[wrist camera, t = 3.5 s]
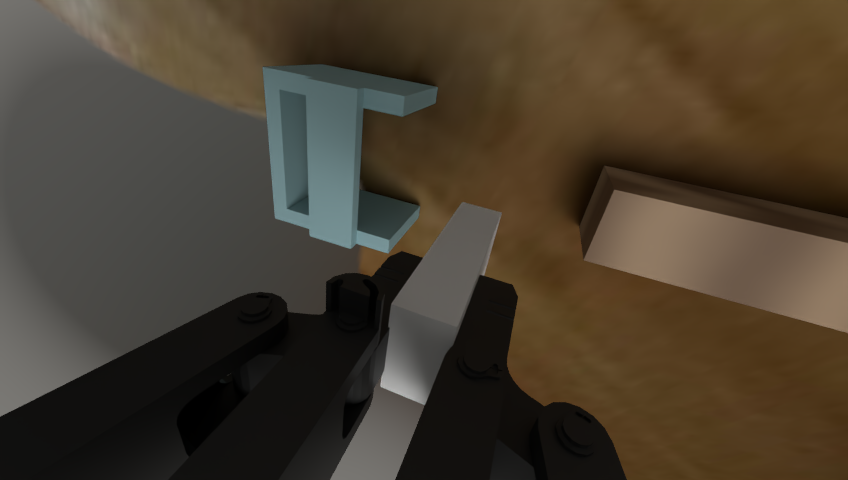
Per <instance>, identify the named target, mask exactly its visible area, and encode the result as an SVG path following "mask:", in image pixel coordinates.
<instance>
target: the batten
mask: <svg viewBox="0 0 848 480" xmlns="http://www.w3.org/2000/svg"><path fill="white" fill-rule="evenodd" d="M579 228H580V236H581V244H582V252H583V260H585V261H588V262H592V263H596V264H599V265H603V266H606V267H610V268H614V269H617V270H621V271H625V272H628V273H632V274H636V275H639V276H643V277H646V278H650V279H654V280H657V281H661V282H665V283H668V284H672V285H676V286H679V287H683V288H687V289H690V290H694V291H697V292H701V293H705V294H708V295H712V296H716V297H719V298H723V299H727V300H730V301H734V302H737V303H741V304H745V305H748V306H752V307H756V308H759V309H763V310H767V311H770V312H774V313H777V314H781V315H785V316H788V317H792V318H796V319H799V320H803V321H807V322H810V323H814V324H818V325H821V326H825V327H828V328H832V329H836V330H839V331H843V332H847V333H848V218H845V217H840V216H835V215H831V214H826V213H821V212H817V211H812V210H808V209H803V208H798V207H794V206H789V205H785V204H780V203H775V202H771V201H766V200H761V199H757V198H752V197H748V196H743V195H738V194H734V193H729V192H725V191H720V190H715V189H711V188H706V187H701V186H697V185H692V184H688V183H683V182H678V181H674V180H669V179H664V178H660V177H655V176H651V175H646V174H641V173H637V172H632V171H628V170H623V169H618V168H614V167H609V166H604V167H603V170H602V172H601V175H600V177H599V180H598V182H597V184H596V187H595V189H594V192H593V194H592V197H591V199H590V202H589V204H588V207H587V209H586V211H585V214H584V216H583V219H582V221H581V224H580V226H579Z"/></svg>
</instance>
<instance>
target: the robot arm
mask: <svg viewBox="0 0 848 480" xmlns="http://www.w3.org/2000/svg"><path fill="white" fill-rule="evenodd" d="M501 214H502V213H501V212H497V211H494V210H490V209H486V208H483V207H479V206H475V205H472V204H468V203H464V202H462V203H461V205H460V206H459V207H458V209H457V210H456V212H455V213H454V215H453V216H452V218H451V219H450V220H449V222H448V223H447V225H446V226H445V228H444V229H443V230H442V232H441V233H440V235H439V236H438V238H437V239H436V240H435V242H434V243H433V245H432V246H431V248H430V249H429V250H428V252H427V253H426V255H425V256H424V258H422V257H419V256H415V255H412V254H409V253H406V252H403V251H401V252H399V253H397V254H395V255H392V256H390V257H389V258H388V259H387V260H386V261H385V262H384V263H383V264H382V266H381V268H379V269H378V270H377V271H376V272H375V274H374V275H373V276H372V277H370V276H368V275H364V274H359V273H345V274H342V275H338V276H335V277H333V278H331V279H330V280H328V281H327V282H326V311H325V312H324V314H321V315H311V314H300V313H291V312H288V310H287V303H286V302H285V301H284V300H283V299H282V298H281V297H280V296H277V295H275V294H273V293H263V292H258V293H251V294H247V295H244V296H241V297H238V298H236V299H234V300H232V301H230V302H228V303H226V304H224V305H222V306H220V307H218V308H216V309H214V310H212V311H210V312H208V313H206V314H204V315H202V316H200V317H198V318H196V319H194V320H192V321H190V322H188V323H186V324H184V325H182V326H180V327H178V328H176V329H174V330H172V331H170V332H168V333H166V334H164V335H162V336H160V337H158V338H157V339H155V340H152V341H150V342H148V343H146V344H144V345H142V346H140V347H138V348H136V349H134V350H132V351H130V352H128V353H126V354H124V355H123V356H121V357H118V358H117V359H114V360H112V361H110V362H109V363H106V364H104V365H103V366H101V367H98V368H96V369H94V370H93V371H91V372H89V373H87V374H85V375H83V376H81V377H79V378H77V379H75V380H73V381H71V382H69V383H67V384H65V385H63V386H61V387H59V388H57V389H55V390H53V391H51V392H49V393H47V394H45V395H43V396H41V397H39V398H37V399H35V400H33V401H31V402H29V403H27V404H25V405H23V406H21V407H19V408H17V409H15V410H13V411H11V412H9V413H7V414H5V415H3V416H1V417H0V480H330V478H331V476H332V474H333V473H334V471H335V469H336V467H337V465H338V464H339V462H340V460H341V458H342V456H343V454H344V453H345V451H346V449H347V447H348V445H349V443H350V442H351V440H352V438H353V436H354V434H355V433H356V431H357V429H358V427H359V425H360V423H361V422H362V420H363V418H364V416H365V414H366V413H367V411H368V409H369V407H370V405H371V402H372V398H373V391H374V387H375V386H376V384H377V382H378V380H379V379H380V377H381V375H382V379H381V386H380V387H382V388H385V389H387V390H389V391H392V392H395V393H397V394H399V395H402V396H404V397H407V398H409V399H411V400H414V401H416V402H419V403H421V404H423V405H425V406H424V409H423V412H422V414H421V417H420V419H419V421H418V424H417V427H416V429H415V432H414V434H413V437H412V439H411V442H410V444H409V447H408V449H407V452H406V454H405V457H404V459H403V462H402V464H401V467H400V470H399V472H398V474H397V477H396V479H395V480H627V479H626V477H625V474H624V471H623V469H622V466H621V463H620V461H619V458H618V455H617V453H616V450H615V447H614V445H613V442H612V440H611V439H610V437H609V435H608V433H607V431H606V430H605V428H604V427H603V426H602V425H601V424H600V423H599V422H598V421H597V419H596V418H595V417H594V416H592V415H591V414H589V413H588V412H586V411H585V410H583V409H582V408H580V407H578V406H575V405H572V404H569V403H566V402H553V403H551V404H549V405H547V406H545V407H544V406H543V405H542V404H540V403H539V402H537V401H536V400H534V399H533V398H531V397H530V396H529V395H527V394H526V393H525V392H524V391H522V390H521V389H520V388H519V387H518V385H517V384H516V383H515V382H514V381H513V379H512V377H511V375H510V374H509V371H508V367H507V355H508V350H509V344H510V338H511V333H512V327H513V322H514V321H513V320H514V316H515V310H516V305H517V299H518V296H517V294H516V291H515V289H514V287H513V285H512V284H508V283H505V282H502V281H499V280H496V279H492V278H489V277H486V276H484V274H485V270H486V267H487V263H488V260H489V256H490V252H491V249H492V245H493V242H494V238H495V235H496V231H497V228H498V224H499V221H500V217H501ZM230 373H231V374H230ZM227 375H228V376H227Z"/></svg>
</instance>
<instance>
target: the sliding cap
mask: <svg viewBox="0 0 848 480" xmlns="http://www.w3.org/2000/svg"><path fill="white" fill-rule="evenodd" d="M263 77H264V89H265V101H266V113H267V126H268V138H269V149H270V162H271V173H272V186H273V198H274V211H275V218H276V219H279V220H282V221H286V222H289V223H292V224H295V225H298V226H302V227H305V228H308V229H309V230H310V236H312V237H315V238H318V239H321V240H324V241H327V242H330V243H334V244H337V245H340V246H343V247H346V248H350V249H351V248H352V247H353V246H354V245H355V244H359V245H362V246H366V247H369V248H372V249H375V250H378V251H382V252H385V253H389V252H390V250H391V249H392V248H393V247H394V246H395V245H396V243H397V242H398V241H399V240H400V239H401V238H402V236H403V235H404V234H405V233H406V232H407V231H408V229H409V228H410V227H411V226H412V225H413V223H414V222H415V221H416V220H417V219H418V217H419V211H420V206H418V205H414V204H411V203H407V202H403V201H400V200H396V199H393V198H389V197H385V196H382V195H378V194H374V193H371V192H367V191H364V190H360V189H359V183H360V164H361V145H362V125H363V108H365V109H370V110H375V111H379V112H384V113H388V114H393V115H397V116H402V117H403V116H406V115H408V114H410V113H413V112H415V111H418V110H420V109H423V108H425V107H428V106H430V105H433V104H435V103H436V97H437V90H438V87H435V86H430V85H425V84H420V83H415V82H410V81H405V80H400V79H395V78H389V77H384V76H379V75H374V74H369V73H364V72H359V71H354V70H349V69H344V68H339V67H334V66H329V65H324V64H315V65H291V66H268V67H263Z"/></svg>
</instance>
